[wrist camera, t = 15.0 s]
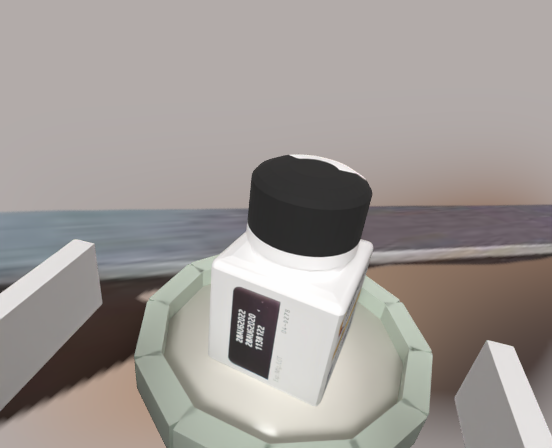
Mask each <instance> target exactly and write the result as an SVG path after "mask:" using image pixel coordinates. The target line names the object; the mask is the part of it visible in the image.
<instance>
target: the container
mask: <svg viewBox="0 0 552 448" xmlns="http://www.w3.org/2000/svg"><path fill="white" fill-rule="evenodd" d="M371 197H372V190H371V188H370V186H369V184H368V182H367V180H366V179H365V178H364V177H363V176H362V175H361V174H359V173H358V172H356V171H354V170H352V169H351V168H350V167H348V166H346V165H344V164H342V163H339V162H337V161H334V160H331V159H328V158H323V157H318V156H312V155H285V156H281V157H277V158H272V159H269V160H267V161H264V162H263V163H261V164H260V165H259V166H258V167H257V168H256V169H255V170H254V171H253V173H252V180H251V190H250V200H249V211H248V222H247V231H246V232H245V233H244V234H242V235H241V236H240V237H239V238H238V239H237V240H236V241H235V242H233V243H232V244H231V245H230V246H229V247H228V248H227V249H226V250H224V251H223V252H222V253H221V254H220V255H219V256H218V257H217V258H215V259H214V260H213V263H212V268H211V291H210V314H209V336H208V355H209V357H210V358H212V359H214V360H216V361H218V362H220V363H223V364H225V365H227V366H229V367H231V368H233V369H235V370H237V371H239V372H242V373H244V374H246V375H248V376H250V377H252V378H254V379H256V380H259V381H261V382H263V383H265V384H267V385H269V386H271V387H273V388H275V389H278V390H280V391H282V392H284V393H286V394H288V395H290V396H292V397H294V398H297V399H299V400H301V401H303V402H305V403H307V404H309V405H311V406H318V405H319V404H320V402H321V400H322V398H323V395H324V393H325V390H326V388H327V385H328V383H329V380H330V378H331V375H332V373H333V370H334V368H335V365H336V362H337V360H338V357H339V355H340V352H341V350H342V347H343V345H344V342H345V340H346V337H347V335H348V332H349V330H350V327H351V324H352V320H353V317H354V313H355V310H356V306H357V303H358V299H359V296H360V293H361V289H362V286H363V282H364V279H365V275H366V272H367V268H368V265H369V262H370V258H371V255H372V251H373V245H372V244H371V243H370V242H368V241H365V240H362V239H361V235H362V231H363V228H364V224H365V220H366V216H367V213H368V209H369V205H370V201H371Z"/></svg>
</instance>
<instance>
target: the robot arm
mask: <svg viewBox="0 0 552 448" xmlns="http://www.w3.org/2000/svg"><path fill="white" fill-rule="evenodd" d="M101 305H102V297H101V289H100V282H99V274H98V267H97V259H96V252H95V244H94V243H90V242H86V241H81V240H77V239H74V240H72V241H71V242H70V243H68V244H67V245H66V246H64V247H63V248H62V249H60V250H59V251H57V252H56V253H55V254H53V255H52V256H51V257H49V258H48V259H47V260H45V261H44V262H42V263H41V264H40V265H38V266H37V267H36V268H34V269H33V270H32V271H30V272H29V273H28V274H26V275H25V276H23V277H22V278H21V279H19V280H18V281H17V282H15V283H14V284H13V285H11V286H10V287H9V288H7V289H6V290H4V291H3V292H2V293H0V411H1V410H2V409H3V408H4V407H5V405H6V404H7V403H8V402H9V401H10V400H11V399H12V398H13V397H14V396H15V395H16V394H17V393H18V392H19V391H20V390H21V389H22V388H23V387H24V385H25V384H26V383H27V382H28V381H29V380H30V379H31V378H32V377H33V376H34V375H35V374H36V373H37V372H38V371H39V370H40V369H41V368H42V367H43V366H44V364H45V363H46V362H47V361H48V360H49V359H50V358H51V357H52V356H53V355H54V354H55V353H56V352H57V351H58V350H59V349H60V348H61V347H62V346H63V345H64V343H65V342H66V341H67V340H68V339H69V338H70V337H71V336H72V335H73V334H74V333H75V332H76V331H77V330H78V329H79V328H80V327H81V326H82V325H83V324H84V322H85V321H86V320H87V319H88V318H89V317H90V316H91V315H92V314H93V313H94V312H95V311H96V310H97V309H98V308H99V307H100V306H101ZM455 403H456V408H457V413H458V417H459V422H460V427H461V431H462V436H463V441H464V445H465V448H552V436H551V434H550V431H549V429H548V427H547V424H546V422H545V420H544V417H543V415H542V413H541V410H540V408H539V406H538V403H537V401H536V399H535V396H534V394H533V392H532V389H531V387H530V384H529V382H528V380H527V377H526V375H525V373H524V370H523V368H522V366H521V363H520V361H519V359H518V356H517V354H516V352H515V349H514V347H513V346H508V345H505V344H501V343H497V342H493V341H488V340H487V341H486V343H485V345H484V346H483V348H482V349H481V351H480V353H479V355H478V357H477V358H476V360H475V362H474V364H473V366H472V367H471V369H470V371H469V373H468V375H467V376H466V378H465V380H464V382H463V384H462V385H461V387H460V389H459V390H458V392H457V394H456V396H455Z"/></svg>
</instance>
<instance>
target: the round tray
mask: <svg viewBox="0 0 552 448" xmlns="http://www.w3.org/2000/svg"><path fill="white" fill-rule="evenodd" d="M219 255H220V254H219ZM219 255H216V256H212V257H209V258H205V259H202V260H199V261H195V262H192V263H191V265H190V264H188V265H187V266H186V267H185V268H184V269H182V270H181V271H180V272H179V273H178V274H177V275H176V276H174V277H173V278H172V279H171V280H170V281H169V282H167V283H166V284H165V285H164V286H163V287H162V288H161V289H159V290H158V291H157V292H156V293H155V294H154V295H153V296H152V297H150V298H149V301H147V305H146V310H145V314H144V318H143V322H142V326H141V330H140V334H139V338H138V342H137V347H136V351H135V355H134V359H135V371H136V381H137V389H138V391H139V393H140V395H141V397H142V399H143V401H144V403H145V405H146V407H147V409H148V411H149V413H150V415H151V417H152V419H153V421H154V423H155V425H156V427H157V429H158V432H159V433H160V436H161V437H162V440H163V442H164V444H165V446H166V448H410V447H411V446H412V445H413V444H414V443H415V441H416V439H417V437H418V435H419V433H420V431H421V429H422V427H423V425H424V423H425V421H426V419H427V417H428V415H429V404H430V388H431V371H432V357H433V354H431V349H430V347H429V346H428V344H427V342H426V341H425V339H424V337H423V336H422V334H421V332H420V331H419V329H418V328H417V326H416V324H415V323H414V321H413V319H412V318H411V316H410V314H409V313H408V311H407V309H406V308H405V306H404V304H403V303H401V302H399V301H400V300H399V299H397V298H396V297H395V296H394V295H392V294H391V293H389V292H388V291H387V290H385V289H384V288H382V287H381V286H380V285H378V284H377V283H375V282H374V281H372V280H371V279H370V278H368V277H367V276H366V275H365V279H364V282H363V286H362V289H361V293H360V296H359V299H358V303H357V306H356V310H355V313H354V317H353V320H352V324H351V327H350V330H349V332H348V335H347V337H346V340H345V342H344V345H343V347H342V350H341V352H340V355H339V357H338V360H337V362H336V365H335V368H334V370H333V373H332V375H331V378H330V380H329V383H328V385H327V388H326V390H325V393H324V395H323V398H322V400H321V402H320V404H319V405H318V406H311V405H309V404H307V403H305V402H303V401H301V400H299V399H297V398H294V397H292V396H290V395H288V394H286V393H284V392H282V391H280V390H278V389H275V388H273V387H271V386H269V385H267V384H265V383H263V382H261V381H259V380H256V379H254V378H252V377H250V376H248V375H246V374H244V373H242V372H239V371H237V370H235V369H233V368H231V367H229V366H227V365H225V364H223V363H220V362H218V361H216V360H214V359H212V358H210V357H209V355H208V336H209V314H210V291H211V268H212V263H213V260H214V259H215V258H217V257H218V256H219Z"/></svg>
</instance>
